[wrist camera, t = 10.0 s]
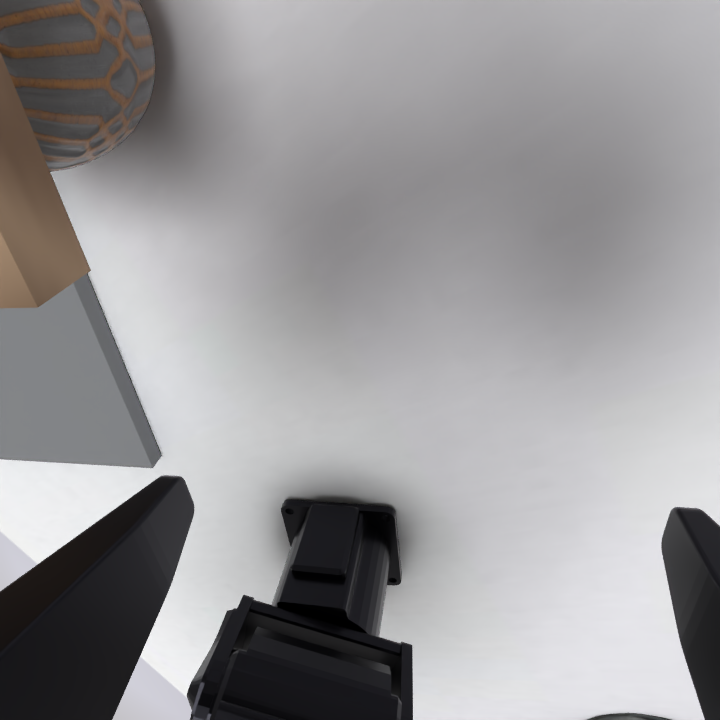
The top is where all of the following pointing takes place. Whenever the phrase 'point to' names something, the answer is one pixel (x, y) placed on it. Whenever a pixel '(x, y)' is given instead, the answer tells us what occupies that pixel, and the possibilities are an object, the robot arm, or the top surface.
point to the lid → (30, 214)
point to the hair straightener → (627, 717)
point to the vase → (78, 72)
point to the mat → (68, 387)
